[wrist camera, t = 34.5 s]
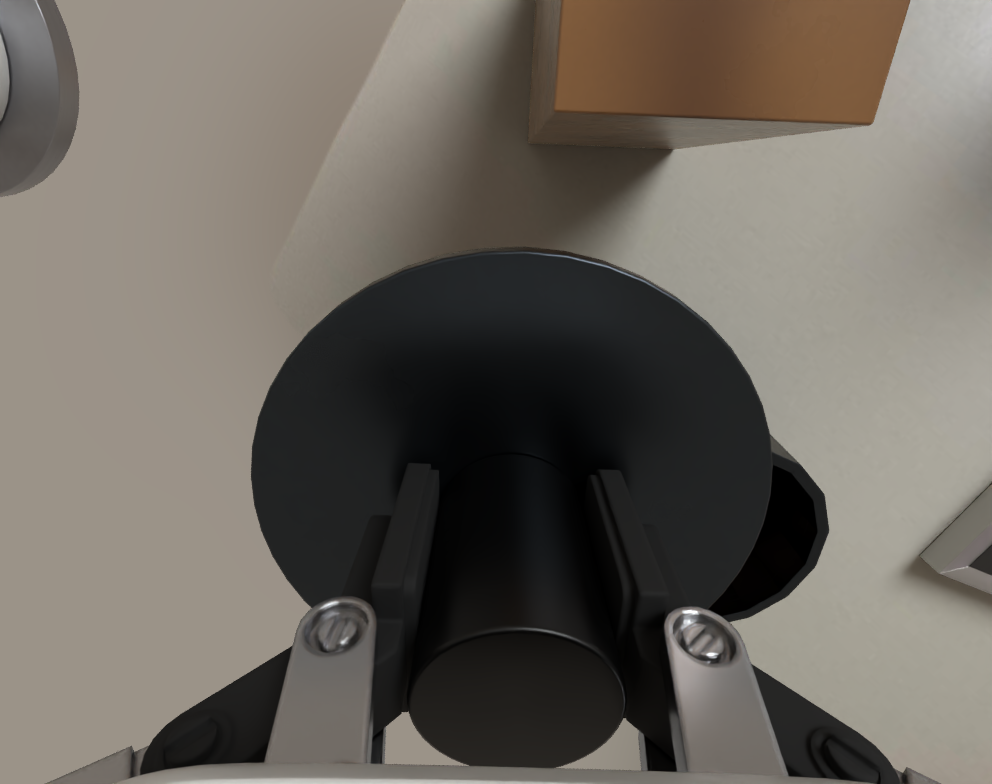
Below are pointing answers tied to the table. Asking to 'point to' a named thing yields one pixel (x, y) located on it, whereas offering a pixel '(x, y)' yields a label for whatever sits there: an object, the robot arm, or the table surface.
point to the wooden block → (706, 69)
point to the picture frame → (966, 546)
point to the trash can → (779, 542)
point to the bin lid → (512, 475)
